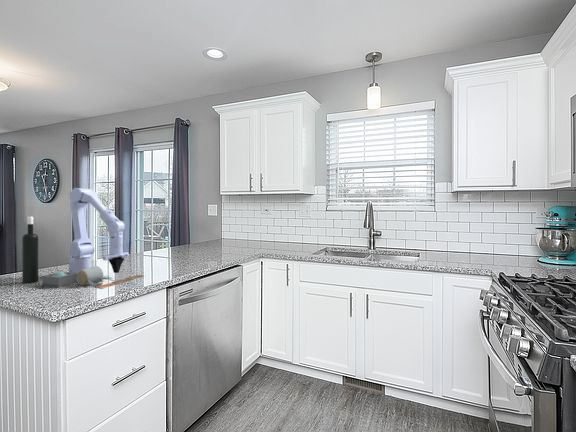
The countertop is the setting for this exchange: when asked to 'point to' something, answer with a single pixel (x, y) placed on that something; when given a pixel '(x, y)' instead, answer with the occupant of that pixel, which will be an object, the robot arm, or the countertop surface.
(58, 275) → the dome
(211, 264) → the countertop surface
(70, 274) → the dome housing
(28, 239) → the wine bottle
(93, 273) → the ceramic mug
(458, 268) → the countertop surface
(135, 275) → the tile track
